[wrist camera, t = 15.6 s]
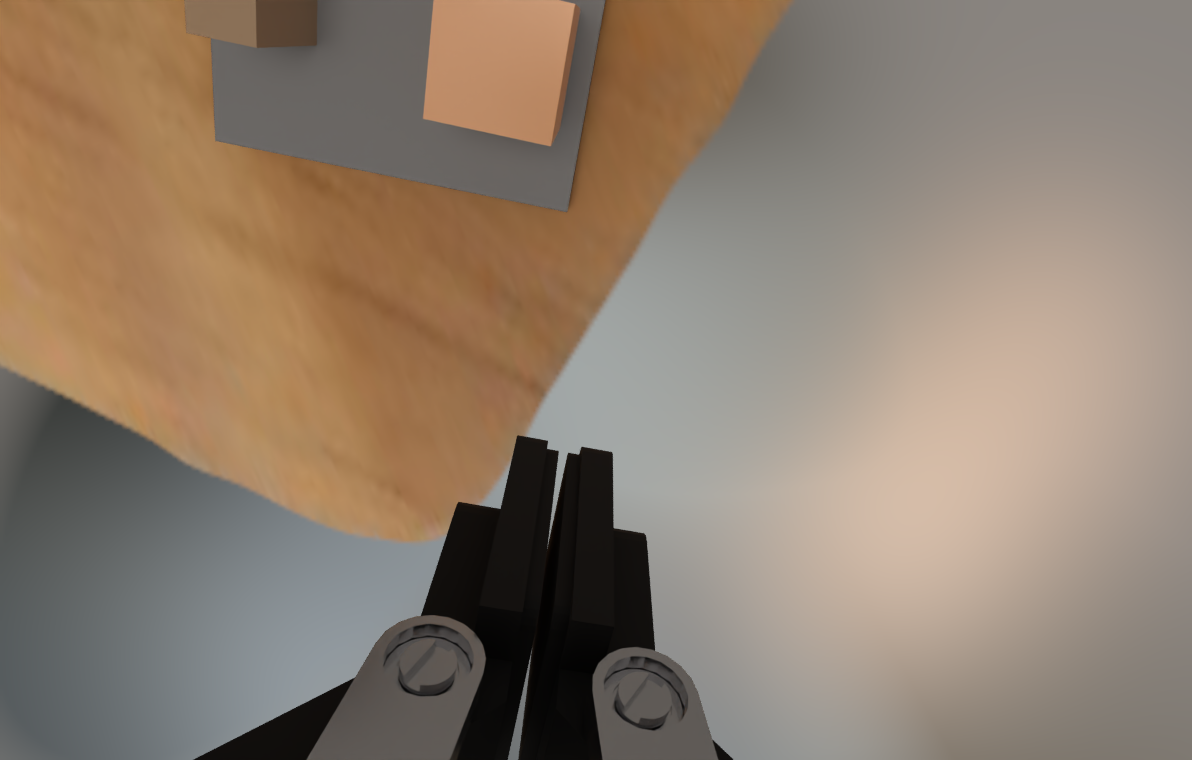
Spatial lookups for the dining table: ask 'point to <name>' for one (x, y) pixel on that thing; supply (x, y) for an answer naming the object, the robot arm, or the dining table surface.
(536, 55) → the tan cardboard box
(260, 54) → the post stand
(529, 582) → the robot arm
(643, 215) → the dining table surface
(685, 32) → the dining table surface
